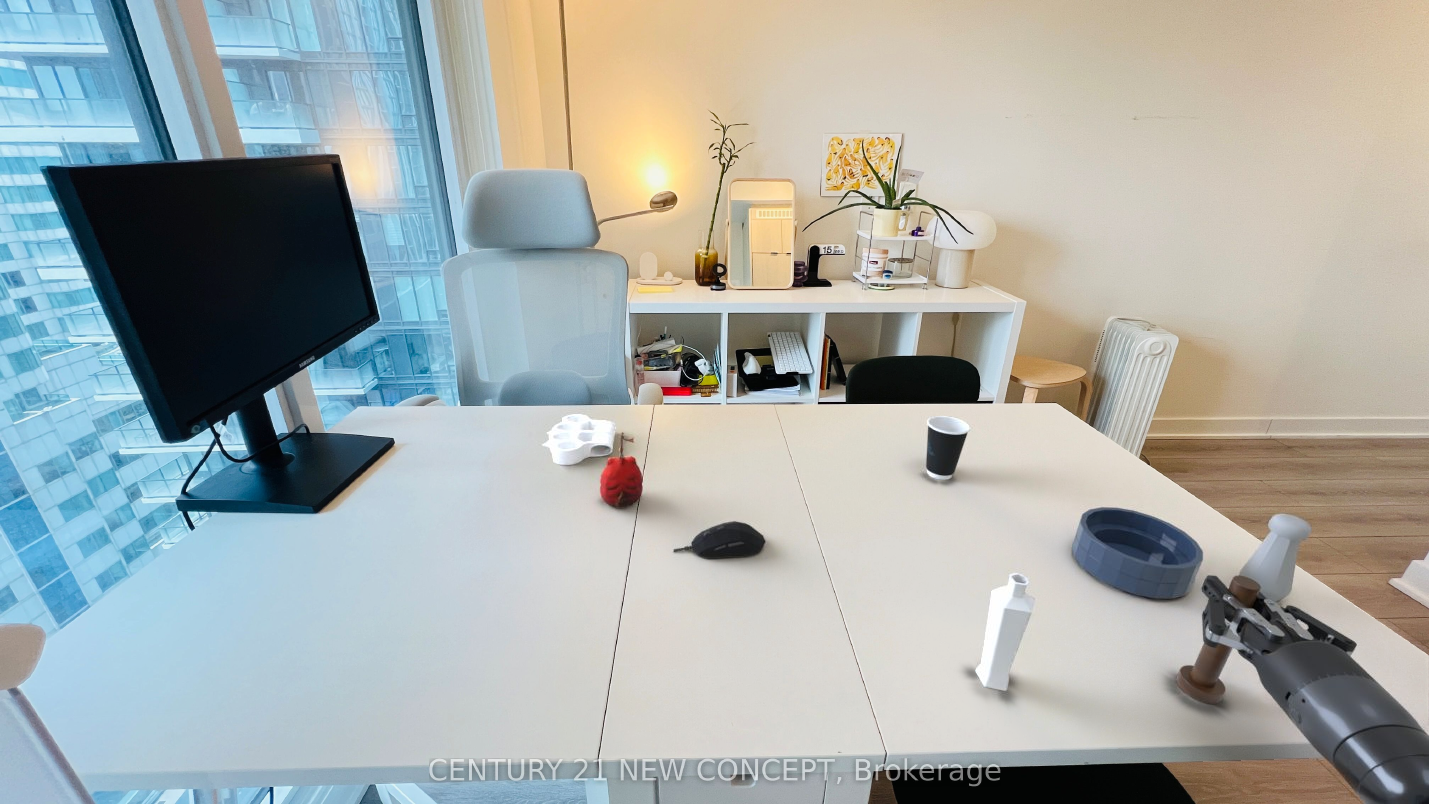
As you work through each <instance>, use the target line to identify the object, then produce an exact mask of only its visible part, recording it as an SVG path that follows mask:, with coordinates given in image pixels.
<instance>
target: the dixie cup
mask: <svg viewBox="0 0 1429 804" xmlns="http://www.w3.org/2000/svg"><path fill="white" fill-rule="evenodd" d="M926 424H927V441H926V460H925V468H926V474H927V475H928V476H929V477H931V478H933V479H936V480H942V481H945V480H946V481H947V480H950V479H951V478H952V477H953V475H954V474H955V472H956V469H957V466H958V463H959V460H960V457H961V455H962V451H963V449H964V445H965V442H966V439H967V436H968V433H969V432H970V431H971V425H970V424H969V423H967V422H966V421H965V420H962V419H960V418H957V417H952V416H947V415H936V416H931V417H929V418H928V419H927V420H926Z"/></svg>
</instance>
